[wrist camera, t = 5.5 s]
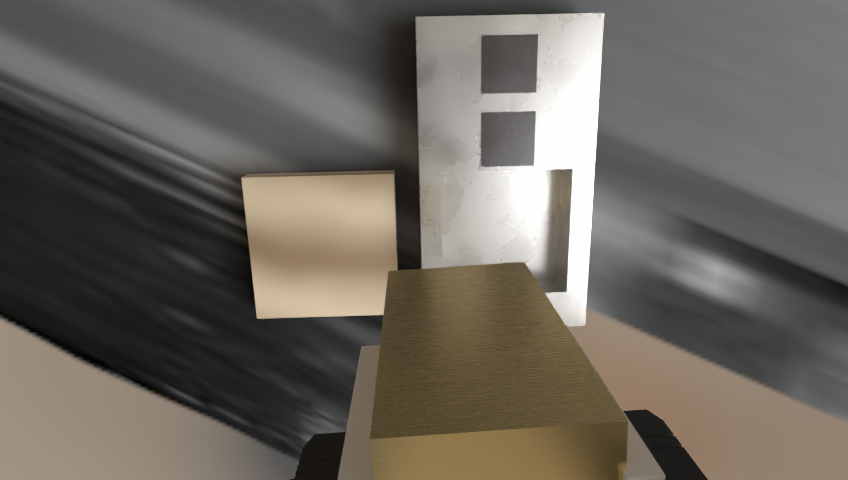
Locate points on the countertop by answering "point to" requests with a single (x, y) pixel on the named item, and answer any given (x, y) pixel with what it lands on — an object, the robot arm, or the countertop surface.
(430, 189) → the white recessed slab
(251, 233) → the coaster
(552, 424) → the block
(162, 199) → the countertop surface
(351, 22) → the countertop surface
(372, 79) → the countertop surface
